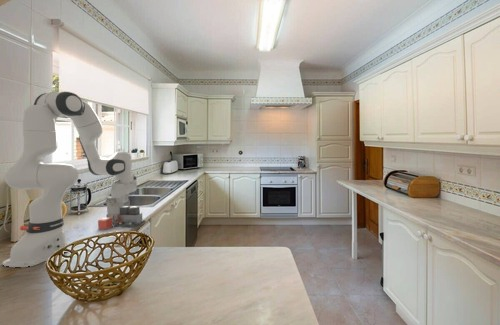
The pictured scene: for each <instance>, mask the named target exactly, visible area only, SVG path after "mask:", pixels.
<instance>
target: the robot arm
mask: <svg viewBox="0 0 500 325" xmlns="http://www.w3.org/2000/svg"><path fill="white" fill-rule="evenodd" d="M64 117H67V118H69V119H70V120H71V121H72V124H74V127H75V129H76V130H77V134H78V140H79V143H80V145H81V149H82V151H83V153H84V155H85V158H86V161H87V167H88V171H89V172H90V173H91V174H92V175H94V176H109V177H110V176H111V177H113V176H115V181H113V182H112V185H111V187H110V188H111V189H110V196H111V197H112V198H119V197H121V199H122V202H123V203H125V202H127V201H128V200H129V196H130V194H131V193H134V192H137V189H138V185H137V184H138V182H137V180H138V177H137V176H135V175H133V172H132V168H133V166H132V163H133V162H132V156H131V154H130V153H129V152H128V151H127V152H126V151H121V150H120V151H115V153H114V154H113V155H111V156H109V157H102V156H100V154H99V151H98V149H97V147H96V146H97V145H96V143H95V141H96V140H97V139H99V138H100V137H101V136H102V134H103V132H104V128H103V125H102V123H101V121H100V118H99V117H98V114H97V113H96V112H95V110H94V108H93V107H92V106H91V104H90V103H89V102H87V101H84V100H83V99H82V98H81V97H80V96H79V95H78V94H76V93H74V92H71V91H50V92H44V93H41V94H39V95H38V96H37V97H36V98H35V100H34V103H33V104H31V105H28V106H27V107H26V108H24V112H23V117H22V118H23V119H22V132H23V133H22V135H23V148H22V153H21V156H20V158H19V159H18V160H17V162H15V163H14V164H13V165H10V167H9V168H7V169H6V172H5V174H4V180H5V183H6V185H7V186H9V187H10V188H12V189H18V190H43V193H42V195H41V196H39V197H37V198H35V199H33V200H32V201H31V202H30V203H29V205H28V214H29V221H28V224H27V225H20V227H19V230H20V231H25V233H24V234H23V235H22V237H20V238H19V240H18V241H17V242H16V243H14V245H12V247H11V249H10V251H9V252H10V253H9V254H10V255H9V257H8V258H7V259H6V260H4V261H2V264H3V265H4V266H3V265H2V266H3V267H6V266H9V267H8V268H15V267H21V268H28V266H30V267H33V266H36V265H39V264H43V262H46V261H48V260H47V259H48V258H49V257H50V256H51V255H52V254H53V253H54V252H55V251H57V250H59V249H60V248H62V247H64V246H65V245H68V242H67V240H66V235H65V231H64V223H65V221H64V217H63V211H62V210H63V209H62V207H63V206H62V203H63V199H64V196H65V194H66V192H67V191H68V190H69V189H70V188H71V187H73V186H74V185H75V184H76V183H77V181H78V180H79V171H78V169H77V168H76V167H75V165H73V164H68V163H62V162H60V163H58V162H57V163H56V162H55V163H50V162H49V163H44V159H45V158H46V157H47V156H49V155H51V154H53V153H55V152H56V150H57V149H58V138H57V137H58V134H57V125H56V123H57V120H58V118H64Z"/></svg>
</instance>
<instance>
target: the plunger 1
mask: <svg viewBox="0 0 500 325" xmlns="http://www.w3.org/2000/svg"><path fill="white" fill-rule="evenodd" d="M130 207H131V205H130V206H122V207H120V214H121V215H127V214H129V208H130Z"/></svg>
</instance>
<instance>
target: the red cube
mask: <svg viewBox="0 0 500 325" xmlns="http://www.w3.org/2000/svg"><path fill="white" fill-rule="evenodd" d="M97 224H98V225H97V228H98V230H108V229H110V228H111V227H113V222H112V218H107V217H102V218H100V219H98V220H97Z"/></svg>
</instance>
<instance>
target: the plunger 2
mask: <svg viewBox="0 0 500 325" xmlns="http://www.w3.org/2000/svg"><path fill="white" fill-rule="evenodd" d="M139 213H141V211H140V205H139V206H137V205H134V206H133V205H132V206H130V208H129V215H137V214H139Z"/></svg>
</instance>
